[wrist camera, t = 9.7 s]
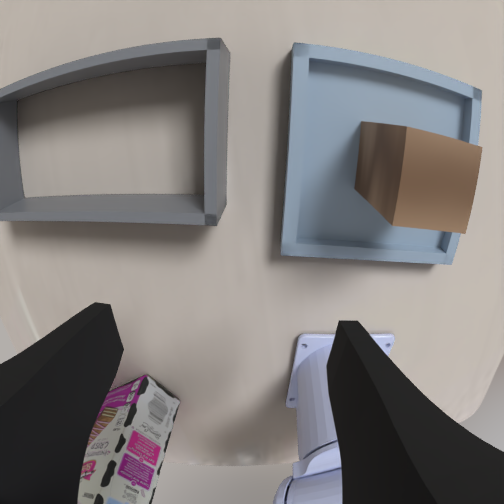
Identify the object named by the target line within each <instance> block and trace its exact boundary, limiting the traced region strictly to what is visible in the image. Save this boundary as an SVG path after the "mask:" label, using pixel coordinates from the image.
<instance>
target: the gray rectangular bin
mask: <svg viewBox="0 0 504 504" xmlns="http://www.w3.org/2000/svg"><path fill="white" fill-rule="evenodd" d="M195 63H206V84H205V123H204V195H191V194H103V195H70V196H49V197H32V198H24V192H23V186H22V178H21V170H20V160H19V149H18V132H17V100H19V99H22V98H25V97H27V96H30V95H33V94H36V93H39V92H42V91H46V90H49V89H52V88H55V87H59V86H62V85H66V84H70V83H73V82H77V81H81V80H86V79H90V78H94V77H99V76H104V75H109V74H114V73H119V72H125V71H131V70H138V69H144V68H152V67H160V66H170V65H181V64H195ZM229 72H230V52H229V50H228V48H227V47H226V45H225V44H224V42H223V41H222V39H221V38H206V39H192V40H181V41H171V42H163V43H156V44H149V45H143V46H137V47H131V48H126V49H121V50H116V51H111V52H107V53H103V54H99V55H95V56H91V57H87V58H83V59H80V60H76V61H73V62H70V63H66V64H63V65H60V66H57V67H54V68H51V69H48V70H45V71H43V72H40V73H37V74H34V75H32V76H29V77H27V78H24V79H22V80H19V81H17V82H15V83H12V84H10V85H8V86H6V87H4V88H1V89H0V221H87V222H130V223H161V224H188V225H211V226H217V224H218V222H219V220H220V218H221V215H222V213H223V211H224V209H225V207H226V185H227V133H228V99H229Z"/></svg>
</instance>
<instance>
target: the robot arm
mask: <svg viewBox="0 0 504 504" xmlns="http://www.w3.org/2000/svg"><path fill="white" fill-rule="evenodd" d="M394 341H395V337H394V335H393V334H369V333H368V332H367V331H366V330H365V328H364V327H363V326H362V325H361V324H360V323H359V322H358V321H339V323H338V326H337V330H336V334H302V335H300V336H299V337H298V342H297V347H296V353H295V358H294V363H293V368H292V373H291V378H290V383H289V388H288V393H287V398H286V407H288V408H296V413H297V434H298V455H299V460H300V461H298V462H294V463H293V476H289V477H287V478H286V479H284V480H283V481H282V483H281V484H280V486H279V488H278V490H277V492H276V494H275V497H274V500H273V504H504V452H502V451H501V450H499V449H497V448H495V447H493V446H492V445H490V444H488V443H486V442H485V441H483V440H481V439H479V438H478V437H477V436H475V435H474V434H472V433H471V432H469V431H468V430H466V429H465V428H464V427H462V426H461V425H459V424H458V423H457V422H455V421H454V420H453V419H451V418H450V417H449V416H448V415H446V414H445V413H444V412H443V411H442V410H441V409H439V408H438V407H437V406H436V405H435V404H434V403H433V402H431V401H430V400H429V399H428V398H427V397H426V396H425V395H424V394H423V393H422V392H421V391H420V390H419V389H418V388H417V387H416V386H415V385H414V384H413V383H412V382H411V381H410V380H409V379H408V378H407V377H406V376H405V375H404V374H403V373H402V372H401V371H400V369H399V368H398V367H397V366H396V365H395V364H394V363H393V362H392V360H391V359H390V358H389V357H388V355H389V353H390V350H391V348H392V346H393V343H394ZM387 343H388V344H387ZM302 344H306V345H302ZM123 350H124V348H123V345H122V342H121V339H120V336H119V333H118V329H117V326H116V323H115V319H114V316H113V312H112V309H111V305H110V304H104V303H97V302H95V303H93V304H91V305H90V306H88V307H87V308H85V309H84V310H82V311H81V312H79V313H78V314H76V315H75V316H73V317H72V318H70V319H69V320H68V321H66V322H65V323H63V324H62V325H60V326H59V327H58V328H56V329H55V330H53V331H52V332H51V333H49V334H48V335H46V336H45V337H43V338H42V339H40V340H39V341H37V342H36V343H34V344H33V345H31V346H30V347H28V348H27V349H25V350H24V351H22V352H21V353H19V354H17V355H16V356H14V357H12V358H11V359H9V360H7V361H5V362H3V363H2V364H0V504H77V503H78V492H79V484H80V477H81V471H82V466H83V461H84V457H85V453H86V449H87V445H88V441H89V437H90V434H91V431H92V429H93V426H94V423H95V421H96V419H97V416H98V414H99V412H100V410H101V407H102V405H103V403H104V401H105V398H106V396H107V394H108V392H109V389H110V387H111V385H112V383H113V381H114V378H115V376H116V373H117V370H118V367H119V364H120V361H121V357H122V354H123Z"/></svg>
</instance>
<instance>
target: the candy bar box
mask: <svg viewBox="0 0 504 504" xmlns="http://www.w3.org/2000/svg"><path fill="white" fill-rule="evenodd" d="M179 404H180V400H179V399H178V398H177V397H175V396H174V395H173V394H172V393H170V392H169V391H167V390H166V389H165V388H164V387H163V386H162V385H160V384H159V383H158V382H157V381H156V380H154V379H153V378H151V377H150V376H149V375H144V376H142V377H140V378H138V379H136V380H134V381H131V382H129V383H127V384H125V385H123V386H121V387H118V388H116V389H114V390H112V391H109V392H108V394H107V396H106V398H105V401H104V403H103V405H102V407H101V410H100V412H99V414H98V416H97V419H96V421H95V423H94V426H93V429H92V431H91V434H90V437H89V441H88V445H87V449H86V453H85V457H84V461H83V466H82V471H81V477H80V484H79V492H78V503H77V504H151V503H152V499H153V496H154V492H155V489H156V485H157V481H158V478H159V474H160V469H161V466H162V463H163V459H164V456H165V452H166V449H167V445H168V441H169V438H170V434H171V431H172V428H173V424H174V421H175V417H176V414H177V410H178V407H179Z"/></svg>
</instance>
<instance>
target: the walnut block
mask: <svg viewBox="0 0 504 504" xmlns="http://www.w3.org/2000/svg"><path fill="white" fill-rule="evenodd" d="M481 153H482V147H480V146H477V145H474V144H471V143H467V142H464V141H461V140H458V139H454V138H451V137H447V136H444V135H440V134H436V133H432V132H428V131H424V130H420V129H416V128H412V127H407V126H400V125H393V124H384V123H375V122H365V121H361V130H360V142H359V152H358V162H357V170H356V179H355V187H354V189H355V190H356V191H357V192H358V193H359V194H360V195H361V196H362V197H363V198H364V199H365V200H367V201H368V202H369V203H370V204H371V205H372V206H373V207H374V208H375V209H376V210H377V211H378V212H379V213H380V214H381V215H382V216H383V217H384V218H385V219H386V220H387V221H388V222H389V223H390V224H391V225H392V226H398V227H408V228H418V229H428V230H437V231H446V232H454V233H463V234H465V233H466V229H467V225H468V221H469V217H470V213H471V209H472V204H473V200H474V195H475V190H476V185H477V179H478V173H479V167H480V161H481Z"/></svg>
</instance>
